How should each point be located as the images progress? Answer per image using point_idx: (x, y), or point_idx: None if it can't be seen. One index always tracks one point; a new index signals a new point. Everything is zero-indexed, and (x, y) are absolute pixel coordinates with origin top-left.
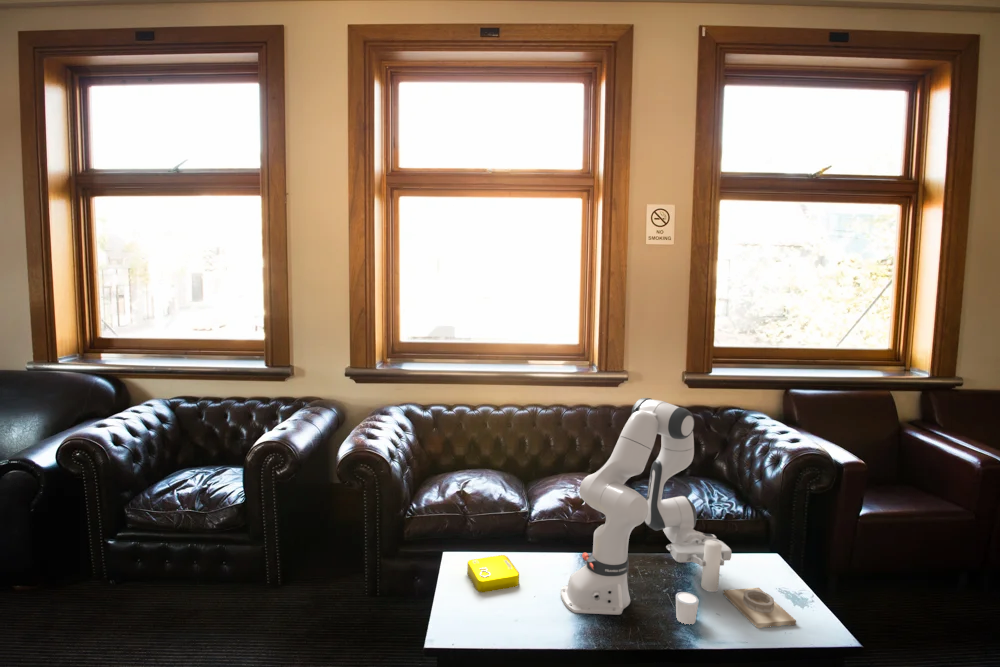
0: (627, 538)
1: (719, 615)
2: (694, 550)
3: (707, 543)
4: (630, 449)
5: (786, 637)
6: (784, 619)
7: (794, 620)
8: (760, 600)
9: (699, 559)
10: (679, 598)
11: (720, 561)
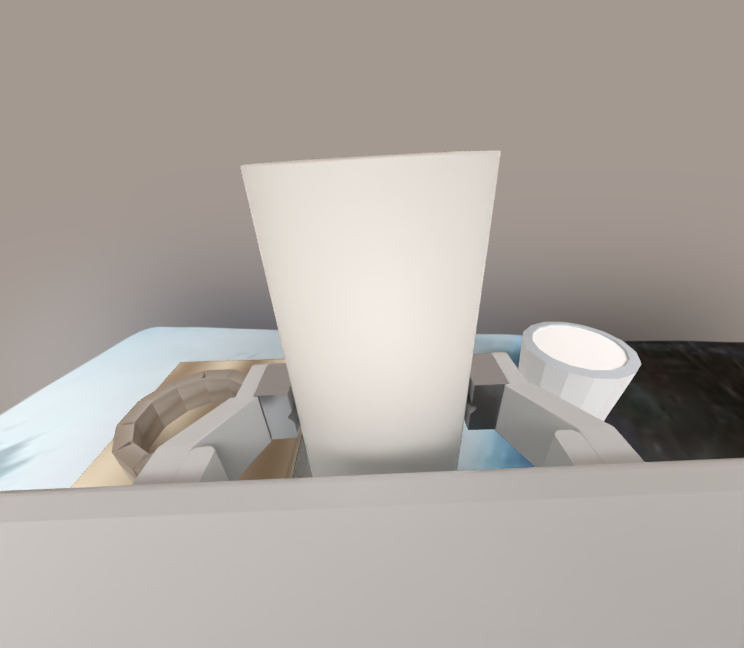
0: None
1: None
2: (627, 512)
3: (461, 153)
4: None
5: (269, 344)
6: (210, 366)
7: (185, 362)
8: None
9: (522, 376)
10: (614, 346)
11: None
